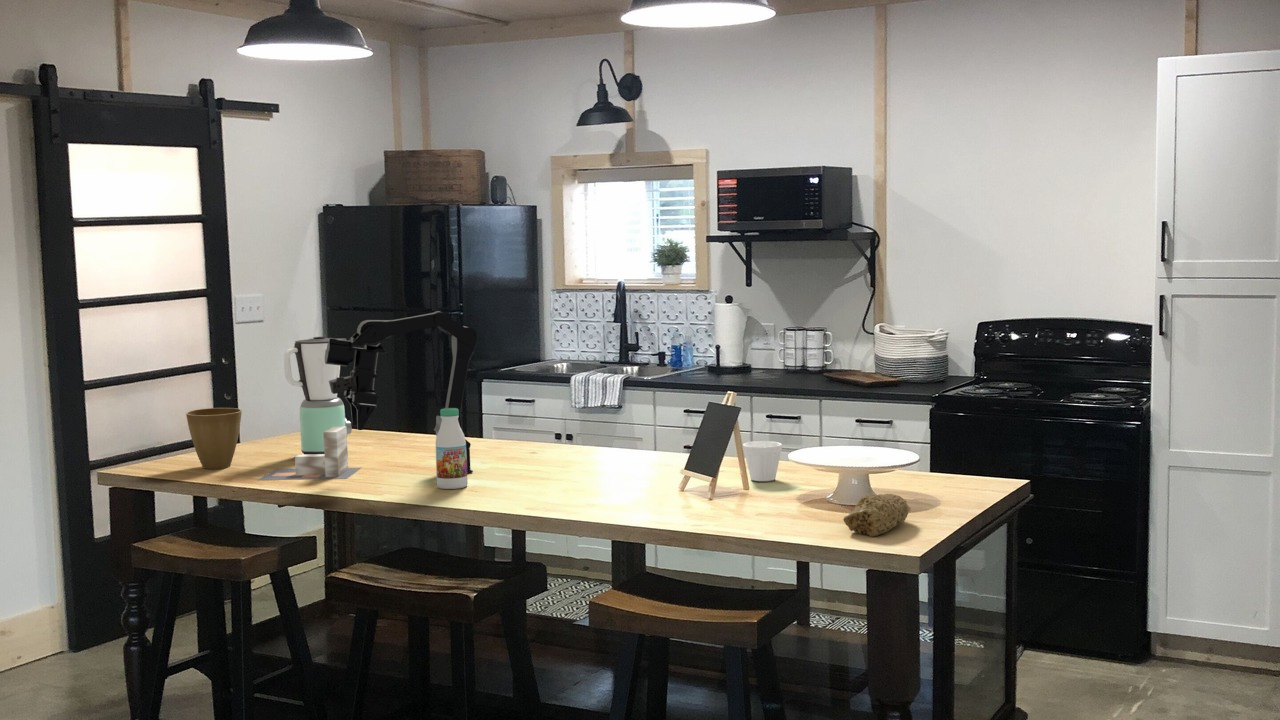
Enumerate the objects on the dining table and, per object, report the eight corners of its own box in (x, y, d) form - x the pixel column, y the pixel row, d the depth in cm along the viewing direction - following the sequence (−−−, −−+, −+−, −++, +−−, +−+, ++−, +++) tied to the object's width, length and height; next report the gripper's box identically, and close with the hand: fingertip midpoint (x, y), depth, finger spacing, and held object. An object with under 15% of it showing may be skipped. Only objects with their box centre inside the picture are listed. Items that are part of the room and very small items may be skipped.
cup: (785, 477, 323) (785, 441, 322) (779, 484, 313) (778, 447, 313) (747, 475, 326) (746, 440, 325) (739, 483, 316) (739, 446, 315)
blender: (341, 449, 384) (336, 334, 380) (360, 454, 373) (355, 336, 370) (281, 456, 372) (275, 338, 369) (298, 462, 362) (292, 340, 358)
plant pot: (180, 472, 351) (177, 415, 349) (202, 462, 366) (199, 407, 364) (232, 471, 350) (229, 414, 348) (252, 461, 365) (249, 407, 363)
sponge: (888, 546, 255) (930, 508, 270) (877, 510, 254) (920, 474, 269) (833, 548, 264) (877, 512, 279) (823, 514, 263) (867, 479, 278)
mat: (362, 468, 349) (362, 467, 349) (346, 480, 333) (346, 478, 333) (276, 470, 350) (276, 469, 350) (256, 481, 334) (256, 480, 334)
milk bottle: (431, 487, 321) (428, 409, 319) (456, 482, 326) (453, 405, 324) (447, 491, 315) (444, 411, 313) (473, 486, 320) (470, 408, 318)
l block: (348, 469, 346) (346, 426, 345) (338, 476, 336) (336, 432, 335) (303, 470, 347) (301, 427, 345) (292, 477, 337) (289, 432, 335)
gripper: (328, 361, 335) (321, 420, 335) (338, 368, 317) (330, 429, 318) (370, 366, 339) (363, 424, 339) (382, 373, 321) (374, 433, 322)
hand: (357, 427), depth 330 cm, fingers open, 9 cm apart
